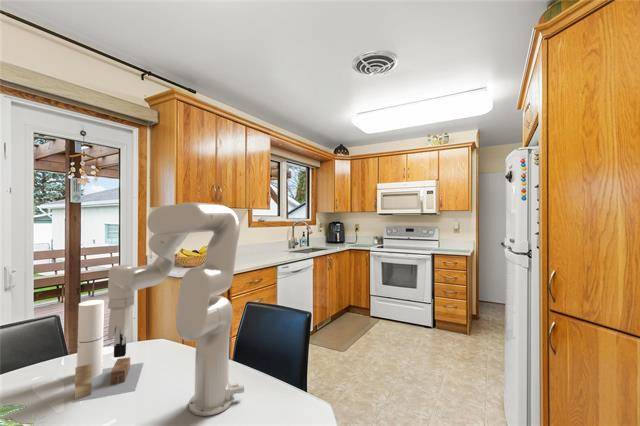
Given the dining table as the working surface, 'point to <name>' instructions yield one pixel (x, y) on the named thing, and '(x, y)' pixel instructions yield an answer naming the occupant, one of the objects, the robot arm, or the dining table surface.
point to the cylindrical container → (91, 335)
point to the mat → (104, 388)
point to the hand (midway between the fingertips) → (119, 355)
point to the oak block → (83, 381)
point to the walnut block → (120, 371)
